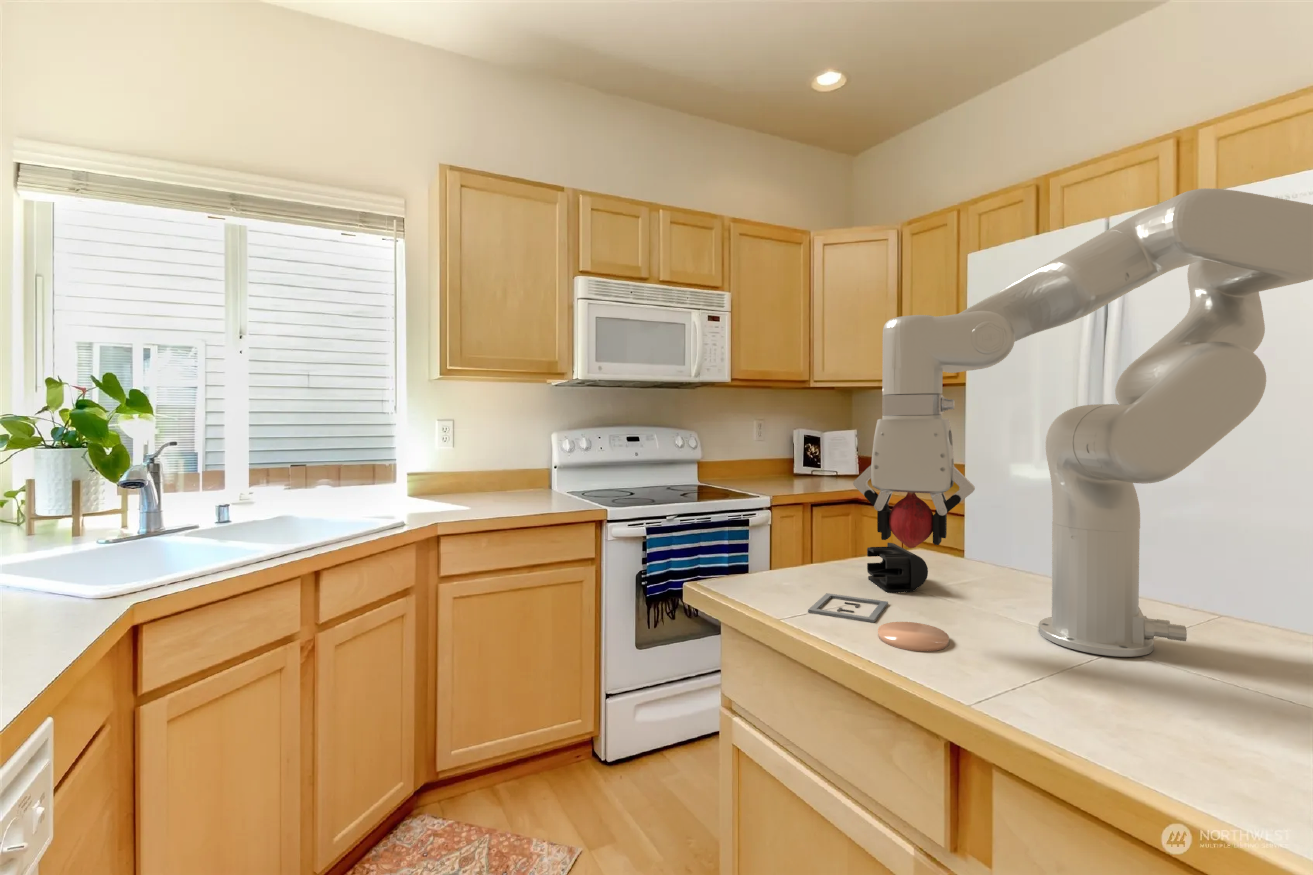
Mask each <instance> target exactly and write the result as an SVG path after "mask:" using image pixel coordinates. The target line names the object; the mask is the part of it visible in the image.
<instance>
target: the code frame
mask: <svg viewBox="0 0 1313 875" xmlns="http://www.w3.org/2000/svg"><path fill="white" fill-rule="evenodd" d="M831 599H836V600H844V604H845V605H853V606H855V608H858V609H859V607H861V606H860V605H861V604H860V603H865V604H870V605H871V604H872V605H876V607H875V609H874V610H873V611H872V612H871V613H870V615H869V616H865V615H858V614H852V613H855V610H853V609H852V610H851V609H844V608H843V607H839V608H837V609H836V611H832V610H825V609H821V608H822V606H824V604H826V603H827V602H828V601H829V600H831ZM847 601H852V602H847ZM854 602H858V603H854ZM888 605H889V601H887V600H880V599H879V600H878V599H873V598H872V599H870V598H864V597H858V596H857V597H856V596H850V595H843V594H842V595H841V594H835V593H829V592H826V593H825V594H824V595H822V597H820V598H819V600H817V601H816V602H815V603H814V604H813V605H812V606H811V607H809V608H808V609H807V613H811V614H817V615H823V616H830V617H836V618H843V619H847V620H854V621H860V622H861V621H862V622H867V623H876V621H877V620H878V618H879V617H880V616H881V614H882V613H883V612H884V610H885V609H886V607H887V606H888ZM846 612H847V613H846ZM848 612H849V613H848Z"/></svg>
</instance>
